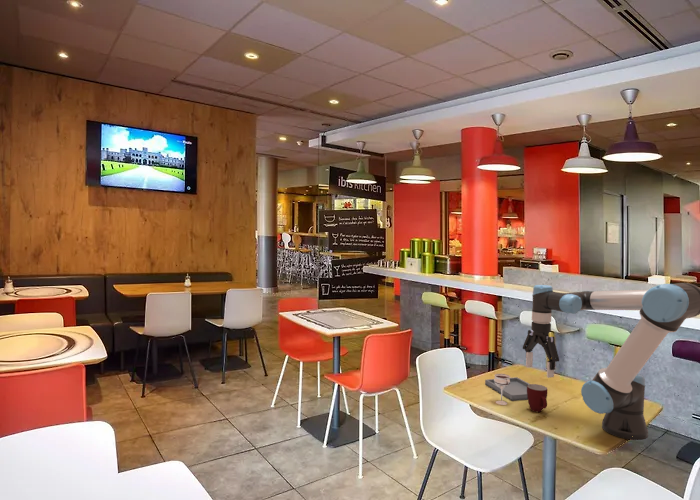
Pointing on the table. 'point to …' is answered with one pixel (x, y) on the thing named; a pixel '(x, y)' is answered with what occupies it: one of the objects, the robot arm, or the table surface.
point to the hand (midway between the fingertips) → (539, 371)
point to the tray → (511, 389)
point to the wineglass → (502, 384)
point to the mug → (537, 397)
